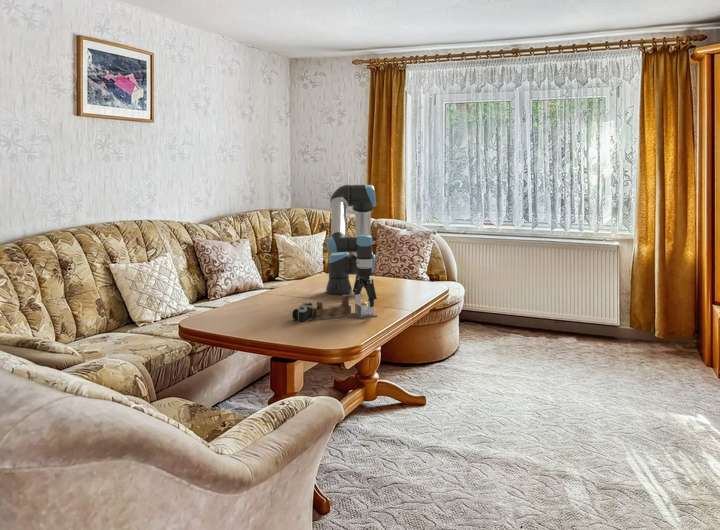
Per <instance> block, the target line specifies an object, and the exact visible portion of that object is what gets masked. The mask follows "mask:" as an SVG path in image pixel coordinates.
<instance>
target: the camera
mask: <svg viewBox="0 0 720 530" xmlns="http://www.w3.org/2000/svg"><path fill="white" fill-rule="evenodd" d="M313 306H314V305H313V303H312V302H303V303H300V304H299V305H298V308H295V309H292V310H293V311H292V312H291V313H292V314H291V315H292V319H293V320H294V321H295V320H297V321H298V322H299V324H305V323H307V322H309V321H310V320H312V319H314V318H313V308H314V307H313Z"/></svg>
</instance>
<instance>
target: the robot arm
mask: <svg viewBox="0 0 720 530" xmlns="http://www.w3.org/2000/svg"><path fill="white" fill-rule="evenodd" d="M330 197H331V198H330V200H329V201H330V202H329V206H330V209H331V217H330V218H331V219H330V220H331V221H330V223H331V224H330V225H331V227H330V228H331V229H330V237H327V238H326V252H328V253H330V255H329V256H328V262H327V263H328V281H327V283H326V284H327V285H326V288H325V293H326V294H328V295H333V296H334V295H335V296H336V295H338V296H340V295H341V296H342V295H348V294H351V293H354V296H355V297H354V298H355V300H354V302H355V303H354V305H355V304H356V303H362V302H361V301H362V289H363V288H364V290H365V291H366V294H367V297H368V299H367V302H368V314H371V313H374V314H375V300H377V293H376V288H375V285H374V284H375V283H374V279H373V278H371V276H372V275H373V273H374V270H375V265H376V255H375V254H374V253H373V236H372V235H371V227H372V226H371V225H372V219H371V218H372V212H373V210H374V207H377V201H376V200H377V199H376V191H375V187H374V185H373V184H344V185H341V186H339V187H338V188H337V189H336V190H334V191H333V193H332V195H331V196H330ZM348 207H352V210H353V212H354V213H355V215H354V216H355V217H354V218H355V219H354V220H355V221H354V223H355V225H354V227H355V232H354V234H355V235H354V236H352V237H351V236H347V209H348ZM331 253H332V254H331ZM350 253H352V254H350ZM351 275H355V280H354V284H353V288H352V285H351V281H350V276H351Z"/></svg>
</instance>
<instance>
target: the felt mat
mask: <svg viewBox="0 0 720 530" xmlns="http://www.w3.org/2000/svg"><path fill="white" fill-rule="evenodd" d="M351 314H352V315H351V316H355V318H358V319H361V320H362V319H369V318H377V317H378V315H377V314H375V313H374V315H369V316H359V315H357V314H355V312H351Z"/></svg>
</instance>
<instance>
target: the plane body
mask: <svg viewBox="0 0 720 530" xmlns="http://www.w3.org/2000/svg"><path fill="white" fill-rule="evenodd" d="M349 298H350V297H349V295H348V294H343V295H341V304H336V305H328V306H323V302H324V301H317V302H316V306H315V307H313V318H312V319H315V320H323V319H333V318H339V317H347V316H353V315H352V306H351V305H349V304H350V303H349V301H350V299H349Z"/></svg>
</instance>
